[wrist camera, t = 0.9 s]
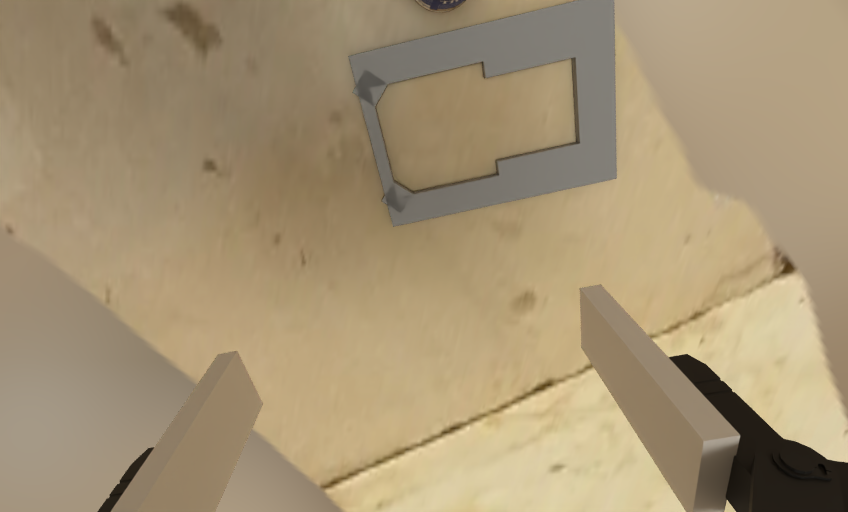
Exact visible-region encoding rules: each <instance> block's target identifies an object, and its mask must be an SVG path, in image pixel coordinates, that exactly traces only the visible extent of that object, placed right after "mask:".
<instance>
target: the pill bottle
mask: <svg viewBox="0 0 848 512" xmlns="http://www.w3.org/2000/svg"><path fill="white" fill-rule="evenodd" d="M416 1H417V2H418V3H419V4H420V5H421V6H423V7H424V8H426V9H428V10H431V11H434V12H446V11H450V10H453V9H455V8H457V7H459V6H460V5H461V4H462V3H463V2H464V1H465V0H416Z"/></svg>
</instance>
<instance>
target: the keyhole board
mask: <svg viewBox="0 0 848 512" xmlns="http://www.w3.org/2000/svg"><path fill="white" fill-rule="evenodd" d="M348 57H349V60H350V64H351V68H352V72H353V76H354V80H355V83H356V87H355V88H354V90H353V93H354V94H356V95H357V96H359V99H360V102H361V106H362V110H363V114H364V118H365V121H366V125H367V129H368V133H369V137H370V140H371V144H372V148H373V152H374V156H375V159H376V163H377V167H378V171H379V175H380V178H381V182H382V186H383V190H384V194H385V195H384V197H383V199H382V202H384V203H385V204H387V205H388V209H389V213H390V217H391V220H392V224H393V227H394V226H399V225H404V224H408V223H413V222H417V221H422V220H427V219H431V218H436V217H441V216H445V215H450V214H455V213H459V212H464V211H469V210H473V209H478V208H483V207H487V206H492V205H496V204H501V203H506V202H510V201H515V200H520V199H524V198H529V197H534V196H538V195H543V194H548V193H552V192H557V191H561V190H566V189H571V188H575V187H580V186H585V185H589V184H594V183H599V182H603V181H608V180H613V179H617V168H616V96H615V23H614V0H578V1H573V2H569V3H565V4H561V5H557V6H553V7H549V8H545V9H540V10H536V11H532V12H528V13H524V14H520V15H516V16H512V17H508V18H503V19H499V20H495V21H491V22H487V23H483V24H479V25H475V26H470V27H466V28H462V29H458V30H454V31H450V32H446V33H442V34H437V35H433V36H429V37H425V38H421V39H417V40H413V41H409V42H404V43H400V44H396V45H392V46H388V47H384V48H380V49H376V50H371V51H367V52H363V53H359V54H355V55H351V56H348ZM570 58H572V72H573V90H574V109H575V127H576V142H575V143H570V144H566V145H561V146H557V147H552V148H548V149H543V150H539V151H534V152H530V153H525V154H521V155H516V156H512V157H507V158H503V159H498V160H496V167H497V174H493V175H489V176H484V177H480V178H475V179H471V180H466V181H461V182H457V183H452V184H448V185H443V186H439V187H434V188H430V189H425V190H421V191H416V192H412V191H411V190H409V189H407V188H406V187H404V186H402V185H401V184H399V183H398V182H396V181H394V179H393V175H392V171H391V167H390V163H389V159H388V155H387V151H386V147H385V143H384V139H383V135H382V131H381V127H380V123H379V119H378V115H377V111H376V105H377V103H378V101H379V99H380V98H381V96H382V94H383V92H384V90H385V89H386V87H387V85H388V84H390V83H395V82H399V81H403V80H407V79H411V78H416V77H420V76H424V75H428V74H433V73H437V72H441V71H445V70H449V69H454V68H458V67H462V66H466V65H471V64H475V63H479V62H482V66H483V73H484V78H488V77H493V76H497V75H501V74H505V73H510V72H514V71H518V70H523V69H527V68H531V67H535V66H540V65H544V64H548V63H552V62H557V61H561V60H565V59H570Z"/></svg>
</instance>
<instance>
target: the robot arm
mask: <svg viewBox="0 0 848 512" xmlns="http://www.w3.org/2000/svg"><path fill="white" fill-rule="evenodd" d="M580 312H581V348H582V349H583V351H584V352H585V354H586V356H587V357H588V359H589V360H590V362H591V363H592V365H593V366H594V368H595V370H596V371H597V373H598V374H599V376H600V377H601V379H602V381H603V382H604V384H605V385H606V387H607V388H608V390H609V392H610V393H611V395H612V396H613V398H614V399H615V401H616V402H617V404H618V406H619V407H620V409H621V410H622V412H623V413H624V415H625V417H626V418H627V420H628V421H629V423H630V424H631V426H632V428H633V429H634V431H635V432H636V434H637V435H638V437H639V438H640V440H641V442H642V443H643V445H644V446H645V448H646V449H647V451H648V453H649V454H650V456H651V457H652V459H653V460H654V462H655V464H656V465H657V467H658V468H659V470H660V471H661V473H662V474H663V476H664V478H665V479H666V481H667V482H668V484H669V485H670V487H671V489H672V490H673V492H674V493H675V495H676V496H677V498H678V500H679V501H680V503H681V504H682V506H683V507H684V509H685V510H686V512H724V510H725V506H726V501H727V500H728V501H729V503H730V504H731V505H732V507H733V508H734V509H735V511H736V512H848V463H846V462H837V461H832V460H827V459H826V458H825V457H823V456H822V455H820V454H819V453H817V452H816V451H814V450H813V449H811V448H809V447H807V446H805V445H802V444H800V443H798V442H795V441H791V440H786V439H783V438H782V437H781V436H780V435H778V434H777V433H776V432H775V431H774V430H773V429H772V428H771V427H770V426H769V425H768V424H767V423H766V422H765V421H764V420H763V419H762V418H761V417H760V416H759V415H758V414H757V413H756V412H755V411H754V410H753V409H752V408H751V407H749V406H748V405H747V404H746V403H745V402H744V401H743V400H742V399H741V398H740V397H739V396H738V395H737V394H736V393H735V392H734V393H733V392H732V389H731V388H730V387H729V386H728V385H727V384H726V383H725V382H724V381H721V380H720V378H719V377H718V376H717V375H716V374H715V373H714V372H713V371H712V370H711V369H710V368H709V367H708V366H707V365H706V364H704V363H702V362H700V361H699V360H697V359H695V358H693V357H691V356H690V355H688V354H685V355H679V356H673V357H668V356H667V355H666V354H665V353H664V352H663V351H662V350H661V349H660V348H659V347H658V346H657V345H656V344H655V342H654V341H653V340H652V339H651V338H650V337H649V336H648V335H647V334H646V333H645V332H644V331H643V329H642V328H641V327H640V326H639V325H638V324H637V323H636V322H635V321H634V320H633V319H632V318H631V317H630V315H629V314H628V313H627V312H626V311H625V310H624V309H623V308H622V307H621V306H620V305H619V304H618V302H617V301H616V300H615V299H614V298H613V297H612V296H611V295H610V294H609V293H608V292H607V291H606V290H605V288H604V287H603V286H602V285H601V284H600V285H595V286H589V287H584V288H580ZM262 405H263V402H262V400H261V398H260V396H259V394H258V392H257V390H256V388H255V386H254V384H253V382H252V380H251V378H250V376H249V374H248V372H247V370H246V368H245V366H244V364H243V362H242V360H241V358H240V356H239V354H238V352H237V351H234V352H228V353H223V354H218V355H217V357H216V358H215V360H214V361H213V362H212V364H211V365H210V367H209V368H208V370H207V371H206V373H205V374H204V376H203V377H202V379H201V380H200V382H199V383H198V384H197V386H196V387H195V389H194V390H193V392H192V393H191V395H190V396H189V398H188V399H187V401H186V402H185V403H184V405H183V406H182V408H181V409H180V411H179V412H178V414H177V415H176V417H175V418H174V420H173V421H172V423H171V424H170V425H169V427H168V428H167V430H166V432H165V433H164V434H163V436H162V437H161V439H160V440H159V442H158V443H157V444H156V446H155V447H153V448H148V449H147V450H146V451H145V452H144V453H143V454H142V455H141V456H140V457H139V458H138V459H136V461H134V462H133V463H132V465H131V466H130V467H129V469H128V470H127V471H126V473H125V474H124V475H123V477H122V478H121V480H120V484H117V486H116V487H115V488H114V490H113V491H112V492H111V494H110V497H109V498H108V499H106V501H105V502H104V504H103V505H102V506H101V508H100V509H99V511H98V512H215V511H216V508H217V506H218V504H219V502H220V500H221V498H222V495H223V493H224V491H225V488H226V486H227V484H228V481H229V479H230V477H231V475H232V473H233V470H234V468H235V466H236V464H237V461H238V459H239V457H240V455H241V452H242V450H243V448H244V446H245V443H246V441H247V439H248V436H249V434H250V432H251V430H252V428H253V425H254V423H255V421H256V418H257V416H258V414H259V412H260V409H261V407H262Z"/></svg>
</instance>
